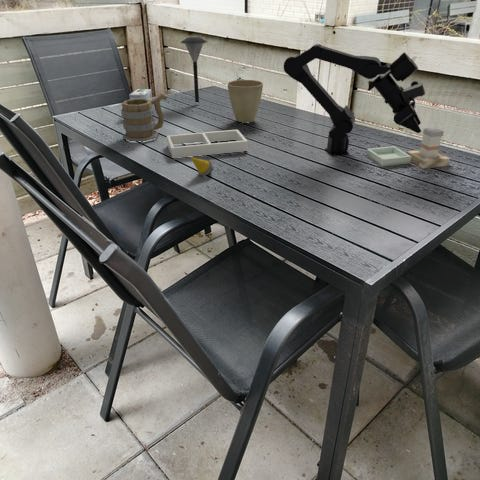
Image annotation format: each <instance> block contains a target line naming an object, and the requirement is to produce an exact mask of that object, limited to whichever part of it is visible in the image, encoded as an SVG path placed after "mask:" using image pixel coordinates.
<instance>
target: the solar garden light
mask: <svg viewBox="0 0 480 480" xmlns="http://www.w3.org/2000/svg"><path fill="white" fill-rule="evenodd" d="M206 43H208V41H207V40H205V39H203V38H202V37H200V36H189V37H186V38H184V39H182V41H180V44H184V45H185V47H186V49H187V51H188V54H189V55H190V59H191V60H192V67H193V68H192V69H193V85H194V86H193V87H194V101H195V102H199V103H200V98H199V96H200V95H199V76H198V59H199V56H200V54H201V51H202V48H203V45H204V44H206ZM195 102H194V103H195Z"/></svg>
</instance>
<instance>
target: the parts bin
mask: <svg viewBox="0 0 480 480" xmlns="http://www.w3.org/2000/svg"><path fill="white" fill-rule="evenodd" d="M233 139H236V140H237V141H228V142H217V143H211V142H210V141H222V140H233ZM194 142H203V144H196V145H185V146H174V145H173V144H182V143H194ZM166 143H167V145H168V146H167V148H168V147H169V149H168V151H169V150H170V151H169V154H170V153H171V154H170V156H171V155H172V156H171V159H172V158H178V157H188V156H199V155H209V154H218V153H230V152H241V153H244V152H243V151H248V150H249V147H248V146H249V144H248V143H249V141H248V140H247V138H246V137H245V136H244V135H243V134H242V133H241V131H240V130H239V129H229V130H227V129H226V130H217V131H205V132H194V133H184V134H183V133H182V134H171V135H170V134H169V135H166Z"/></svg>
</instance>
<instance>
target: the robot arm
mask: <svg viewBox="0 0 480 480" xmlns="http://www.w3.org/2000/svg"><path fill="white" fill-rule="evenodd" d="M316 59H317V60H320V61H324V62H326V63H331V64H334V65H338V66H340V67H343V68H347V69H350V70H351V71H353V72H354V73H356V74H358V75H360V76H361V77H362V78H365V79H368V80H369V81H368V82H367V83H368V87H367V91H372V89H374V88H375V90H376V91H377V93H379V95H380V96H381V97H382V99H384V103H385V104H386V105H388V106H389V108H391V109H392V113H393V114H394V115H393V122H394V123H395V124H396V125H397V126H402V127H404V128H406V129H408V130H411V131H412V132H415V133H417V134H420V133H422V130H421V128H420V125H421V123H422V121H421V120H420V117H419V115H418V113H417V111H416V109H415V105H416V100H415V99H416V98H418V97H423V96H425V95H426V91H425V87H424V84H423V82H418V80H413V81H411V82H410V86H408V87H406V88H404V87H403V86H399V85H398V83H397V82H400V81H401V82H404V81H406V80H407V78H409V77H411V76H412V75H413V74H414V73H415V72H416V71H418V70H419V67H418V65H417V64H416V63H415V61H414V60H413V58H411V57H410V56H409V54H407V53H406V52H405V51H403V52H402V53H401V54H400V55H399V56H398V57H397V58H396V59H395V60H394V61H393V62H386V61H381V60H380V58H378V57H375V56H369V55H355V54H351V53H348V52H344V51H341V50H337V49H335V48H331V47H327V46H325V45H322V44H320V43H316V44H314V45H312V46H311V47H310V48H308V49H307V50H305V51H304V52H302V53H300V54H297V53H294V54H292V55H291V56H288V57H287V58H286V59H285V60H284V63H283V71H284V72H285V74H286V75H287V76H289V77H291V78H292V79H293V80H294V81H296V82H298V83H300V84H301V85H302V86H303V87H304V88H305V89H306V90H307V92H308V93H309V94H310V95H311V96H312V97H313V98H314V99H315V101H317V103H318V104H319V106H321V107H322V109H324V110H325V112H326V113H327V115H329V118H330V120H331V122H332V126H331V128H330V129H329V131H328V134H327V135H328V136H327V146H326V147H325V148H324V150H325V151H326V153H328V154H330V155H331V156H338V155H339V156H340V155H341V156H342V155H349V153H350V152H349V151H348V150H349V146H350V145H349V143H350V139H349V135H348V134H349V133H351V132H352V131H353V129H354V126H355V124H356V117H355V113H354V112H353V111H352V110H351V109H350V108H349V106H348V105H345V106H344V107H343V106H341V105H339V104H338V103H337V101H336V100H335V99H334V98H333V97H332V96H331V94H329V92H327V90H326V89H325V88H324V87H323V86H322V84H321V83H320V82H319V80H317V78H315V77H314V75H313V74H312V72H311V70H310V68H309V66H308V64H309V63H311V62H312V61H315V60H316ZM372 79H373V80H372Z"/></svg>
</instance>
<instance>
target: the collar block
mask: <svg viewBox="0 0 480 480" xmlns="http://www.w3.org/2000/svg"><path fill="white" fill-rule="evenodd" d="M406 153H407V154H408V155H410V156H412V157H411V161H410V163H412V164H414V165H416V166H417V167H420V168H421V169H422V170H423V169H431V168H432V169H433V168H440V167H447V166H449V165H450V161H451V157H449V156H446V155H444V154H443V153H441V152H439V151H438V154H437V157H436V158H428V159H425V158H424V157H422V156H420V155H419V153H420V149H416V150H407V151H406Z"/></svg>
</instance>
